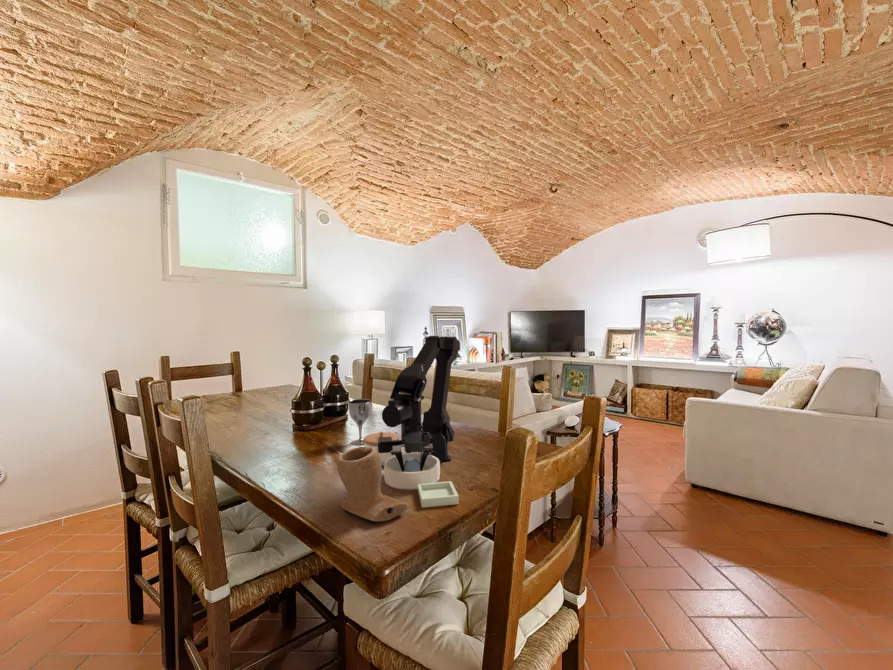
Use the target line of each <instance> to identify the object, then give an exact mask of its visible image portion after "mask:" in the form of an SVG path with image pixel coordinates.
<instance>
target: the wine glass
mask: <svg viewBox="0 0 893 670" xmlns="http://www.w3.org/2000/svg"><path fill="white" fill-rule="evenodd" d="M371 407H372V401H371V399H369V398H355V399H351V400H348V401H347V408H348V413H349V417H350V418H351V420H352V421H353V422H354V423H355V424H356V425H357V429H358V434H359V435H358V439H354V440H352V441H350V442H349V443H350V445H351V446H356V447H357V446H359V447H361V446H364V438H362V429H363V426H364V424H365V423H366V421H367V420H368V418H369V417H370V414H371V410H372V408H371Z"/></svg>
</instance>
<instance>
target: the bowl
mask: <svg viewBox="0 0 893 670" xmlns="http://www.w3.org/2000/svg"><path fill="white" fill-rule="evenodd" d="M429 454H430V453H429ZM429 454H428V456H427V458H426V461H425V464H424V467H423V470H422V471H420V470H419V472H405V470H404V472H402V470H401V467H400V464H399V462H398V460H397V458H396V456H393V457H391V458H388V459H387V460H386V461H385V462H384V465H383V476H384V477H383V478H384V484H386V485H387V486H388V487H390V488H393V489H397V490H402V491H403V490H404V491H415V490H417V491H418V486H417V484H424V483H436V482H440V480H441V479H440V475H441V461H439V459H438V458H436V457H435V456H433V455H429ZM402 458H403V464H404V463H405V461H406V460H407V459H409V458H415V459H417V460H418V461H419V463H420V452H411V453H406V452H405V453H402Z"/></svg>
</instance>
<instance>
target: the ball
mask: <svg viewBox="0 0 893 670" xmlns="http://www.w3.org/2000/svg"><path fill="white" fill-rule="evenodd" d="M404 470H405V472H419V470H420V463H419V461H418V460H417V459H415V458H409V459H407V460H406V461H405V463H404Z"/></svg>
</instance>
